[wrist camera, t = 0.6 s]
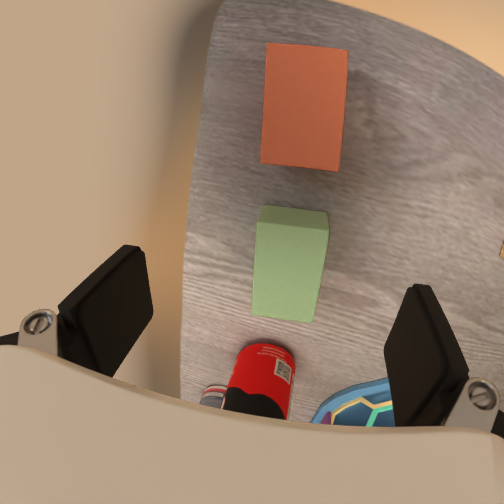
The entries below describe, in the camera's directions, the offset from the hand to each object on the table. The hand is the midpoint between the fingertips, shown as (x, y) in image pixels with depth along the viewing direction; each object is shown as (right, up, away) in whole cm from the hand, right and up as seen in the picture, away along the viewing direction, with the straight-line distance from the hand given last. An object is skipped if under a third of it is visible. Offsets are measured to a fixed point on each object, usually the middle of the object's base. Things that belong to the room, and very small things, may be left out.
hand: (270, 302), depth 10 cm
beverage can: (+1, -10, +21) cm, 24 cm away
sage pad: (+3, +2, +15) cm, 16 cm away
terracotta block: (+3, +12, +10) cm, 16 cm away
